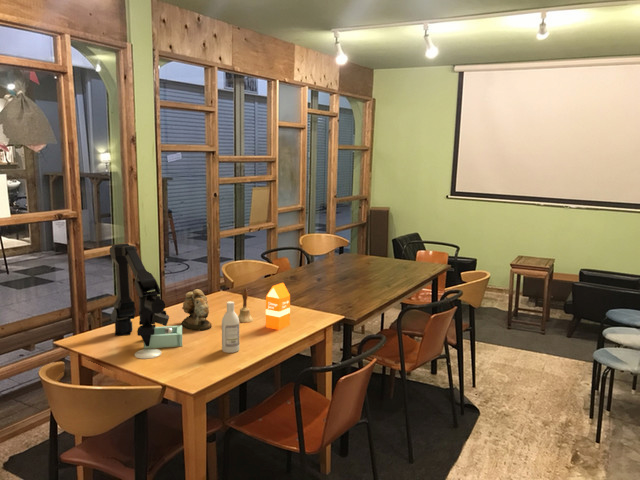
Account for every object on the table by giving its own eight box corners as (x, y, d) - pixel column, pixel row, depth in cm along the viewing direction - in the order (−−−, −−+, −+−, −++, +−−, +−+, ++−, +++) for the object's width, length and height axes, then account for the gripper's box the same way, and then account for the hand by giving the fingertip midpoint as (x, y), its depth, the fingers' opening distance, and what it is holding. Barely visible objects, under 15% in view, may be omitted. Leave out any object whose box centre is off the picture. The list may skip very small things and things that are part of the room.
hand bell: (256, 318, 255) (256, 286, 253) (249, 323, 247) (249, 290, 245) (240, 316, 257) (240, 285, 255) (233, 321, 250) (232, 288, 247)
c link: (182, 336, 227) (182, 325, 227) (182, 346, 216) (182, 334, 215) (145, 338, 224) (145, 327, 223) (143, 348, 212) (143, 336, 211)
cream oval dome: (133, 359, 200) (133, 358, 200) (135, 350, 210) (135, 349, 210) (160, 357, 203) (160, 356, 203) (161, 348, 213) (161, 347, 212)
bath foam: (242, 350, 213) (242, 302, 210) (229, 354, 208) (228, 305, 205) (232, 345, 217) (232, 299, 214) (218, 350, 212) (218, 302, 209)
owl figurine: (173, 324, 244) (172, 288, 242) (194, 318, 253) (194, 284, 251) (196, 332, 233) (196, 295, 230) (218, 327, 241) (217, 290, 239)
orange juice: (290, 325, 246) (290, 283, 243) (279, 330, 239) (279, 287, 236) (276, 322, 250) (276, 281, 247) (265, 326, 243) (265, 284, 240)
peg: (165, 342, 220) (164, 329, 219) (165, 339, 223) (164, 327, 222) (172, 341, 221) (172, 329, 220) (172, 339, 224) (172, 326, 223)
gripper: (166, 313, 204) (167, 351, 206) (168, 300, 222) (169, 336, 224) (136, 315, 201) (138, 353, 204) (140, 302, 219) (141, 337, 222)
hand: (147, 345), depth 213 cm, fingers closed on c link
